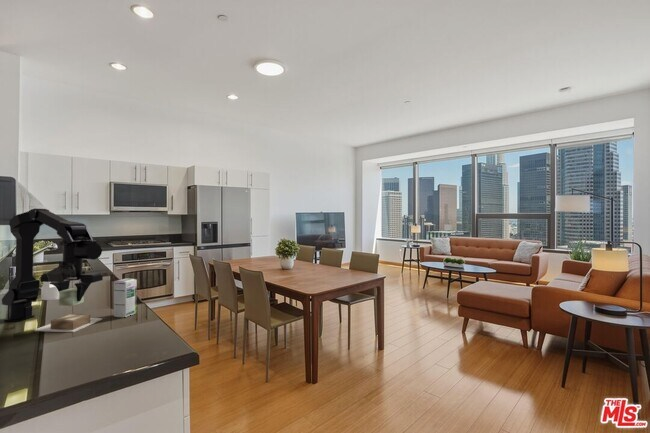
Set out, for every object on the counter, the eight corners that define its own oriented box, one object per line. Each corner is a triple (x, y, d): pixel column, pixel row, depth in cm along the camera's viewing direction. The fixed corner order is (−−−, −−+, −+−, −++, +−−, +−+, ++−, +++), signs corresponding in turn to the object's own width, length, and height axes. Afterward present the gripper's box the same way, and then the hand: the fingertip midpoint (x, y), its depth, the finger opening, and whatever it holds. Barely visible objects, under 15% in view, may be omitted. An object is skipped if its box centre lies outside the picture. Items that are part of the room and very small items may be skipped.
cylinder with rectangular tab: (54, 300, 150) (55, 274, 150) (35, 299, 150) (36, 274, 150) (70, 295, 159) (70, 271, 159) (52, 295, 159) (53, 271, 159)
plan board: (33, 331, 111) (34, 320, 111) (67, 318, 125) (67, 309, 125) (73, 332, 111) (73, 322, 111) (102, 319, 125) (102, 310, 125)
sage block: (59, 305, 114) (59, 291, 114) (70, 301, 119) (70, 288, 119) (72, 305, 114) (73, 291, 114) (83, 302, 119) (84, 288, 119)
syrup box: (125, 317, 127) (126, 281, 127) (112, 316, 129) (113, 280, 129) (136, 313, 133) (137, 278, 133) (124, 312, 134) (125, 278, 134)
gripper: (26, 260, 108) (25, 306, 108) (80, 261, 108) (79, 308, 108) (54, 256, 119) (53, 298, 119) (104, 257, 119) (103, 299, 119)
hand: (71, 300), depth 116 cm, fingers closed on sage block, 5 cm apart
